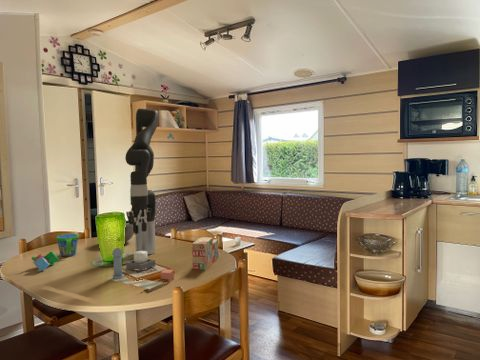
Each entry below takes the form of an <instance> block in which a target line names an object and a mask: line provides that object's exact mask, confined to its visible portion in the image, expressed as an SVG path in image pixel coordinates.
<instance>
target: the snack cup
mask: <svg viewBox="0 0 480 360" xmlns="http://www.w3.org/2000/svg"><path fill="white" fill-rule="evenodd" d="M79 237H80V235H79V234H77V233H64V234H60V235H57V236H56V238H55V240H56V241H57V245H58V251H59V254H60V255H59V256H61V257H64V258H65V257H72V256H75V255H76V254H77V250H78V249H77V248H78V241H79Z"/></svg>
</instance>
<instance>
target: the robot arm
mask: <svg viewBox="0 0 480 360" xmlns="http://www.w3.org/2000/svg"><path fill="white" fill-rule="evenodd" d="M159 116H160V115H159V111H158V110H155V109H150V108H138V109H137V110H136V112H135V130H136V131H135V132H136V133H135V138H134V141H133V144H131V145H130V147H129V148H128V150H127V151H126V153H125V162H126V164H128V165H129V166H133V167H134V170H133V171H132V172H130V175H129V176H130V178H129V179H130V190H129V193H130V195H129V196H130V197H129V198H130V199H129V200H130V205H131V209H130V210H129V211H126V217H127V221H129V224H132V225H133V232H134V234H136V235H135V252H136V251H147V255H153V254H155V253H156V225H155V223H156V222H155V219H156V217H155V216H156V204H157V203H156V201H157V199H156V194H155V191H154V190H152V189H151V190H150V189H148V176H150V173H151V172H152V170H153V168H154V158H155V153H154V151H153V149H152V147H151V140H152V138H153V135H154V134H155V132H156V130H157V128H158V126H159V122H160V121H159V120H160V117H159Z"/></svg>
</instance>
